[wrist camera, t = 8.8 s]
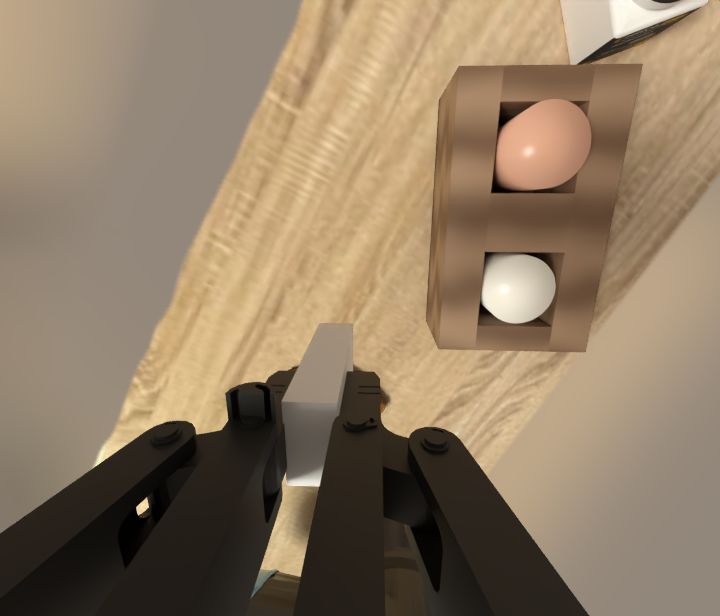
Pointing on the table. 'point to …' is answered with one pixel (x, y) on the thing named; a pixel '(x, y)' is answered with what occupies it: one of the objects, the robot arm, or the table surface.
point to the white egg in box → (516, 286)
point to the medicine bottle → (617, 24)
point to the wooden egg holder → (523, 203)
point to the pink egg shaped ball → (541, 147)
